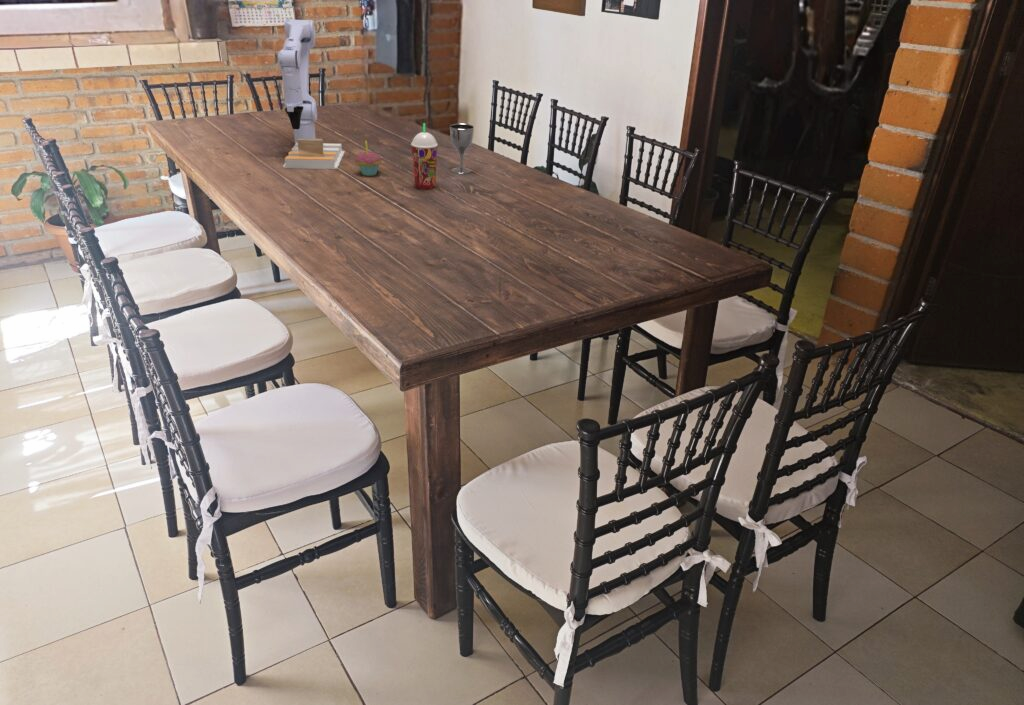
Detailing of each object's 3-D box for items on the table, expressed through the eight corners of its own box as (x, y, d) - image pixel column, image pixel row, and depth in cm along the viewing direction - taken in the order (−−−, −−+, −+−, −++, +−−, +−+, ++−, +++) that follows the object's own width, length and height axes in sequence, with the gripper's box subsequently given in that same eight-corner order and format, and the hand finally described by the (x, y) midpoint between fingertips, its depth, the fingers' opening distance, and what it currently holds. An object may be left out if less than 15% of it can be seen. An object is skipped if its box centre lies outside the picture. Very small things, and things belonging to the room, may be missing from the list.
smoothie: (433, 191, 238) (433, 127, 228) (408, 189, 239) (406, 125, 229) (441, 184, 245) (440, 121, 235) (416, 181, 246) (415, 119, 236)
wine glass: (474, 168, 262) (475, 124, 255) (471, 174, 256) (471, 129, 248) (452, 166, 263) (452, 122, 256) (448, 172, 256) (448, 128, 249)
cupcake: (379, 178, 248) (377, 141, 242) (353, 176, 248) (351, 140, 242) (383, 170, 255) (382, 134, 249) (358, 169, 255) (356, 133, 249)
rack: (294, 151, 271) (293, 142, 270) (344, 152, 273) (344, 143, 271) (282, 168, 253) (281, 158, 251) (337, 169, 254) (336, 159, 252)
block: (300, 162, 258) (298, 138, 254) (324, 162, 258) (322, 139, 254) (299, 163, 256) (297, 140, 252) (323, 164, 256) (321, 140, 253)
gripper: (284, 83, 259) (288, 123, 266) (275, 91, 246) (280, 133, 253) (305, 84, 260) (308, 124, 266) (297, 92, 247) (301, 134, 254)
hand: (296, 128), depth 260 cm, fingers closed
